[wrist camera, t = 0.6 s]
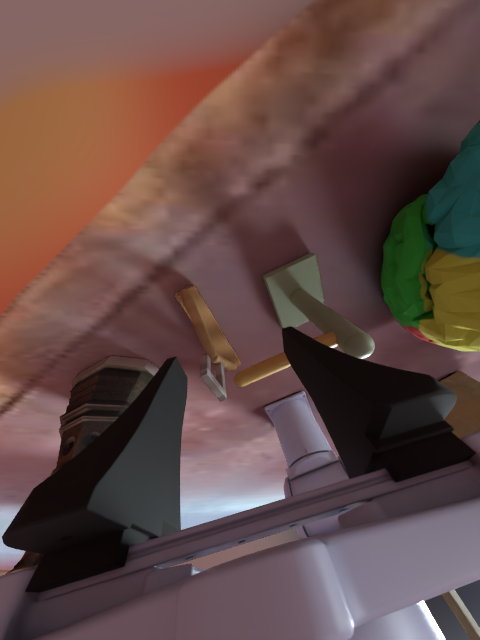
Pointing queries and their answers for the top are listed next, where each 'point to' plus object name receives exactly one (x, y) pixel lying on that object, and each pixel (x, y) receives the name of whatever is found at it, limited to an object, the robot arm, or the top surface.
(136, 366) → the bird statue
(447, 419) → the caddy
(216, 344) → the hanger
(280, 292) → the stand
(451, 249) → the brain model
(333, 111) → the top surface
